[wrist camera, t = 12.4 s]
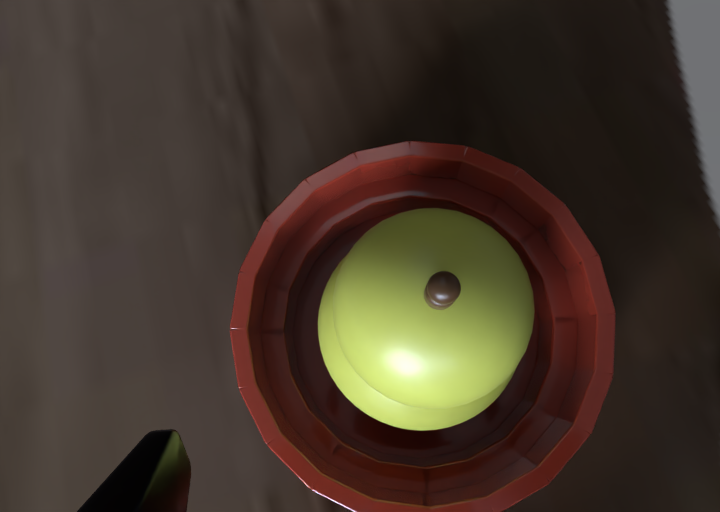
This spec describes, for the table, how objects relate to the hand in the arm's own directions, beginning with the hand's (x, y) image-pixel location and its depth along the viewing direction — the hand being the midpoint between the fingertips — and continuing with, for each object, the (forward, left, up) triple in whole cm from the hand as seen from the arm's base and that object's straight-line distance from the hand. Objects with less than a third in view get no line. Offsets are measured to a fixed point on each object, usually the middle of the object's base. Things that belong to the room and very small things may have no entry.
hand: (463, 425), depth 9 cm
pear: (+2, -1, -13) cm, 13 cm away
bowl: (+2, -1, -14) cm, 14 cm away
